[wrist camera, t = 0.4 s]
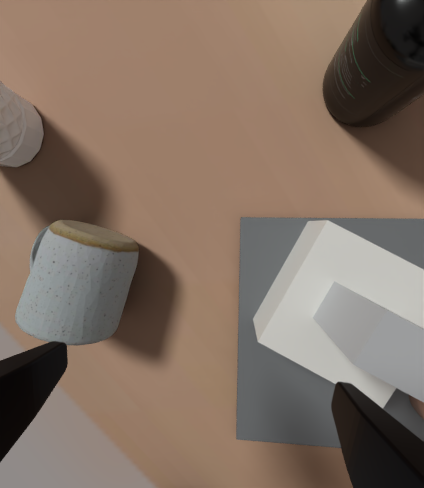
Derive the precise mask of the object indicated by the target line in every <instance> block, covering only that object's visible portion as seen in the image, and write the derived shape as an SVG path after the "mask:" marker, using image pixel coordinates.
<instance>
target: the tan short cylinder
mask: <svg viewBox="0 0 424 488" xmlns="http://www.w3.org/2000/svg"><path fill="white" fill-rule="evenodd" d="M409 400H410V403H411V405H412V407H413V408H414V410H415V411H416V412H417V413H418V414H419V415H420V416H421V417H422V418H423V419H424V402H422V401H420V400H418V399H416V398H414V397H412V396H411V395H409Z"/></svg>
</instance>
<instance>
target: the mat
mask: <svg viewBox="0 0 424 488" xmlns="http://www.w3.org/2000/svg"><path fill="white" fill-rule="evenodd" d="M320 220H328V221H330V222H332V223H334V224H336V225H338V226H340V227H342V228H344V229H346V230H348V231H350V232H352V233H354V234H356V235H358V236H360V237H361V238H363V239H365V240H367V241H369V242H371V243H373V244H375V245H377V246H379V247H381V248H383V249H385V250H387V251H389V252H391V253H393V254H394V255H396V256H398V257H400V258H402V259H404V260H406V261H408V262H410V263H412V264H414V265H416V266H418V267H420V268H422V269H424V219H374V218H249V217H241V222H240V274H239V326H238V378H237V430H236V439H238V440H251V441H263V442H275V443H287V444H299V445H312V446H324V447H336V448H341V445H340V441H339V438H338V434H337V430H336V426H335V422H334V418H333V415H332V410H331V402H332V397H333V393H334V388H335V385H336V384H334V383H333V382H331V381H329V380H327V379H325V378H323V377H321V376H320V375H318V374H316V373H314V372H312V371H310V370H309V369H307V368H305V367H303V366H301V365H299V364H298V363H296V362H294V361H292V360H290V359H288V358H286V357H285V356H283V355H281V354H279V353H277V352H275V351H274V350H272V349H270V348H268V347H266V346H264V345H263V344H261V343H259V342H258V341H257V336H256V331H255V326H254V322H253V318H254V316H255V314H256V313H257V311H258V309H259V307H260V305H261V304H262V302H263V300H264V298H265V297H266V295H267V293H268V291H269V290H270V288H271V286H272V284H273V282H274V281H275V279H276V277H277V275H278V274H279V272H280V270H281V268H282V266H283V265H284V263H285V261H286V259H287V258H288V256H289V254H290V252H291V251H292V249H293V247H294V245H295V243H296V242H297V240H298V238H299V236H300V235H301V233H302V231H303V229H304V228H305V226H306V224H307V222H308V221H320ZM383 409H384V410H385V411H386V412H388V413H389V414H390V415H391V416H393V417H394V418H395V419H396V420H398V421H399V422H400V423H401V424H403V425H404V426H405V427H406V428H408V429H409V430H410V431H411V432H413V433H414V434H415V435H416V436H418V437H419V438H420V439H421V440H423V441H424V419H423V418H422V417H421V416H420V415H419V414H418V413H417V412H416V411H415V410H414V408H413V407H412V405H411V403H410V400H409V394H407V393H405V392H403V391H401V390H399V389H398V388H396V389H395V391H394V392H393V394H392V395H391V397H390V398H389V400H388V402H387V403H386V405H385V406H384V408H383Z"/></svg>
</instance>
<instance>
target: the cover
mask: <svg viewBox="0 0 424 488" xmlns="http://www.w3.org/2000/svg"><path fill="white" fill-rule="evenodd" d="M253 322H254V326H255V331H256V336H257V341H258V342H259V343H261V344H263V345H264V346H266V347H268V348H270V349H272V350H274V351H275V352H277V353H279V354H281V355H283V356H285V357H286V358H288V359H290V360H292V361H294V362H296V363H298V364H299V365H301V366H303V367H305V368H307V369H309V370H310V371H312V372H314V373H316V374H318V375H320V376H321V377H323V378H325V379H327V380H329V381H331V382H333V383H334V384H336V383H337V382H347V383H351V384H353V385H354V386H355V387H356V388H358V389H359V390H360V391H361V392H363V393H364V394H365V395H366V396H368V397H369V398H370V399H371V400H373V401H374V402H375V403H376V404H378V405H379V406H380V407H381V408H384V406H385V405H386V403H387V402H388V400H389V398H390V397H391V395H392V394H393V392H394V391H395V389H396V388H398V389H399V390H401V391H403V392H405V393H407V394H409V395H411V396H412V397H414V398H416V399H418V400H420V401H422V402H424V269H422V268H420V267H418V266H416V265H414V264H412V263H410V262H408V261H406V260H404V259H402V258H400V257H398V256H396V255H394V254H393V253H391V252H389V251H387V250H385V249H383V248H381V247H379V246H377V245H375V244H373V243H371V242H369V241H367V240H365V239H363V238H361V237H360V236H358V235H356V234H354V233H352V232H350V231H348V230H346V229H344V228H342V227H340V226H338V225H336V224H334V223H332V222H330V221H328V220H320V221H308V222H307V224H306V226H305V228H304V229H303V231H302V233H301V235H300V236H299V238H298V240H297V242H296V243H295V245H294V247H293V249H292V251H291V252H290V254H289V256H288V258H287V259H286V261H285V263H284V265H283V266H282V268H281V270H280V272H279V274H278V275H277V277H276V279H275V281H274V282H273V284H272V286H271V288H270V290H269V291H268V293H267V295H266V297H265V298H264V300H263V302H262V304H261V305H260V307H259V309H258V311H257V313H256V314H255V316H254V318H253Z"/></svg>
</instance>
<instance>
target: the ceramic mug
mask: <svg viewBox="0 0 424 488" xmlns="http://www.w3.org/2000/svg"><path fill="white" fill-rule="evenodd" d="M138 254H139V248H138V245H137V243H136V242H135V241H134V240H133V239H132V238H130V237H128V236H125V235H123V234H121V233H118V232H115V231H112V230H109V229H106V228H103V227H99V226H96V225H92V224H88V223H84V222H79V221H73V220H59V221H56V222H54V223H52V224H51V225H50V226H47V227H45V228H44V229H43V230H42V231H41V232H40V233H39V235H38V236H37V238H36V240H35V242H34V244H33V247H32V250H31V256H30V275H29V277H28V279H27V282H26V285H25V288H24V291H23V293H22V296H21V299H20V301H19V304H18V307H17V310H16V315H15V318H16V323H17V324H18V326H19V327H20V328H21V329H22V330H23V331H24V332H26V333H27V334H29V335H31V336H33V337H35V338H38V339H40V340H44V341H47V342H52V341H59V342H64V343H66V345H84V344H92V343H97V342H100V341H103V340H105V339H107V338H109V337H110V336H112V335H113V334H114V333H115V331H116V330H117V328H118V325H119V322H120V319H121V315H122V312H123V309H124V305H125V302H126V299H127V296H128V292H129V289H130V285H131V282H132V279H133V276H134V273H135V270H136V266H137V262H138Z"/></svg>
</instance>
